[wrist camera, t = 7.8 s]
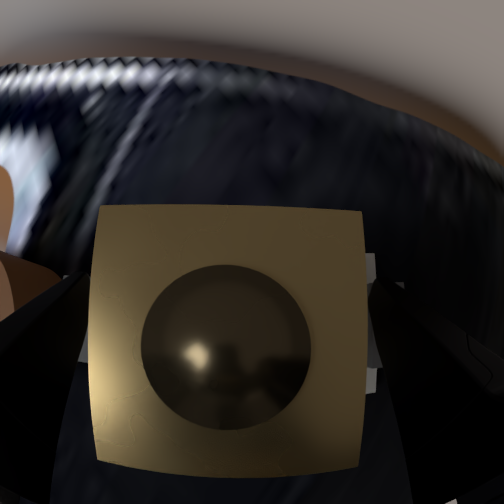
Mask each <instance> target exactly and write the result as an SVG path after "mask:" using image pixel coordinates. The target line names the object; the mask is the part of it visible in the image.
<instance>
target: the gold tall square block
mask: <svg viewBox="0 0 504 504" xmlns="http://www.w3.org/2000/svg"><path fill="white" fill-rule="evenodd" d="M367 348H368V305H367V275H366V258H365V243H364V231H363V221H362V212H361V211H347V210H332V209H315V208H296V207H272V206H242V205H102V206H100V209H99V215H98V222H97V228H96V235H95V243H94V251H93V260H92V270H91V281H90V296H89V317H88V368H89V389H90V403H91V414H92V423H93V431H94V439H95V446H96V453H97V459H98V460H101V461H106V462H110V463H114V464H118V465H123V466H128V467H133V468H138V469H144V470H150V471H156V472H163V473H171V474H180V475H190V476H203V477H222V478H263V477H283V476H295V475H305V474H314V473H322V472H329V471H336V470H342V469H347V468H353V467H358V462H359V454H360V447H361V438H362V429H363V419H364V408H365V394H366V377H367Z"/></svg>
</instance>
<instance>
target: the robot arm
mask: <svg viewBox="0 0 504 504" xmlns="http://www.w3.org/2000/svg"><path fill="white" fill-rule="evenodd" d="M89 296H90V278H89V275H88V273H86V272H79V271H76V272H74V273H72V274H71V275H69V276H67V277H66V278H64V279H63V280H61V281H60V282H58V283H56V284H55V285H53V286H52V287H50V288H49V289H47V290H46V291H44V292H43V293H41V294H40V295H38V296H37V297H35V298H34V299H32V300H31V301H29V302H28V303H26V304H25V305H23V306H22V307H20V308H19V309H17V310H16V311H15V312H13V313H12V314H10V315H9V316H7V317H6V318H5V319H3V320H2V321H0V504H19V501H20V496H21V497H23V498H25V499H28V500H30V501H32V502H34V503H36V504H49V500H50V490H51V482H52V474H53V468H54V461H55V455H56V449H57V443H58V438H59V433H60V428H61V423H62V419H63V415H64V410H65V406H66V402H67V398H68V394H69V390H70V387H71V383H72V379H73V376H74V372H75V369H76V366H77V362H78V359H79V356H80V353H81V349H82V346H83V343H84V340H85V336H86V332H87V327H88V317H89ZM367 303H368V309H369V313H370V318H371V323H372V328H373V333H374V338H375V342H376V346H377V350H378V353H379V356H380V360H381V363H382V367H383V370H384V373H385V377H386V380H387V384H388V388H389V391H390V395H391V399H392V403H393V406H394V410H395V414H396V418H397V423H398V427H399V431H400V435H401V440H402V444H403V449H404V454H405V458H406V465H407V470H408V475H409V481H410V486H411V492H412V499H413V504H445V503H447V502H449V501H451V500H454V499H456V500H457V504H504V360H503V359H502V358H500V357H499V356H497V355H496V354H494V353H493V352H492V351H490V350H489V349H487V348H486V347H484V346H483V345H482V344H480V343H479V342H477V341H476V340H475V339H473V338H472V337H471V336H469V335H468V334H466V333H465V332H464V331H463V330H461V329H460V328H459V327H457V326H456V325H455V324H453V323H452V322H450V321H449V320H448V319H446V318H445V317H443V316H442V315H441V314H439V313H438V312H437V311H435V310H434V309H432V308H431V307H429V306H428V305H427V304H425V303H424V302H422V301H421V300H419V299H418V298H417V297H415V296H414V295H412V294H411V293H409V292H408V291H406V290H405V289H404V288H402V287H401V286H399V285H398V284H396V283H395V282H393V281H392V280H390V279H389V278H386V277H384V278H376V279H375V280H374V282H373V284H372V287H371V290H370V293H369V296H368V301H367Z"/></svg>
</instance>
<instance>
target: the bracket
mask: <svg viewBox="0 0 504 504" xmlns="http://www.w3.org/2000/svg"><path fill="white" fill-rule="evenodd" d="M60 281H61V278H60V277H59V276H58V275H57V274H56V273H55V272H53V271H52V270H50V269H48V268H46V267H44V266H41V265H38V264H35V263H32V262H29V261H27V260H24V259H21V258H18V257H16V256H13V255H10V254H8V253H5V252H2V251H0V321H2V320H3V319H5V318H6V317H7V316H9V315H10V314H12V313H13V312H15V311H16V310H17V309H19V308H20V307H22V306H23V305H25V304H26V303H28V302H29V301H31V300H32V299H34V298H35V297H37V296H38V295H40V294H41V293H43V292H44V291H46V290H47V289H49V288H50V287H52V286H53V285H55V284H56V283H58V282H60Z"/></svg>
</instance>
